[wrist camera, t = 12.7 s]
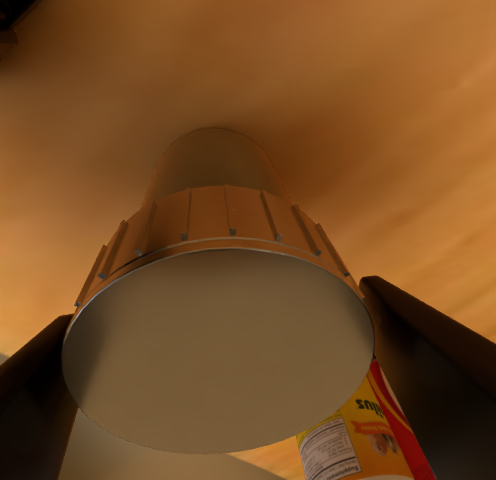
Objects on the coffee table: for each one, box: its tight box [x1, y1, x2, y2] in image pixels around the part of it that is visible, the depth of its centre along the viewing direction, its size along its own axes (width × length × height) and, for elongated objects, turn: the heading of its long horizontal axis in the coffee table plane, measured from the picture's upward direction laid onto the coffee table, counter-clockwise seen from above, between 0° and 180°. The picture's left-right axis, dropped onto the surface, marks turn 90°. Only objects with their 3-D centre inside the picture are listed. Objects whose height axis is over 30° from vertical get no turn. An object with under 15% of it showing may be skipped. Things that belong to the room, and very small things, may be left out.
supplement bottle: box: [296, 376, 415, 480], centre depth 19 cm, size 6×6×10 cm
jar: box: [140, 128, 293, 210], centre depth 11 cm, size 6×6×9 cm
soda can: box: [366, 358, 436, 480], centre depth 19 cm, size 7×7×12 cm
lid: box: [61, 184, 375, 454], centre depth 8 cm, size 6×6×3 cm
